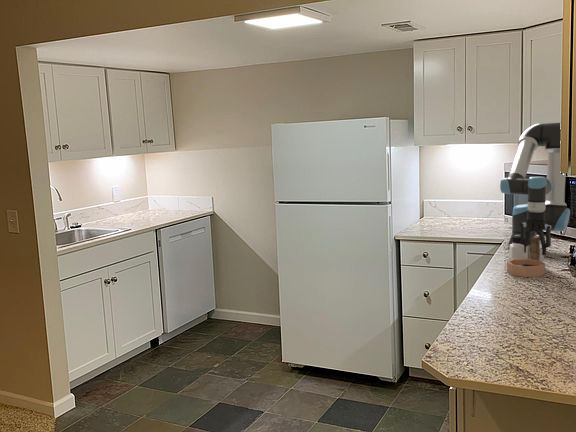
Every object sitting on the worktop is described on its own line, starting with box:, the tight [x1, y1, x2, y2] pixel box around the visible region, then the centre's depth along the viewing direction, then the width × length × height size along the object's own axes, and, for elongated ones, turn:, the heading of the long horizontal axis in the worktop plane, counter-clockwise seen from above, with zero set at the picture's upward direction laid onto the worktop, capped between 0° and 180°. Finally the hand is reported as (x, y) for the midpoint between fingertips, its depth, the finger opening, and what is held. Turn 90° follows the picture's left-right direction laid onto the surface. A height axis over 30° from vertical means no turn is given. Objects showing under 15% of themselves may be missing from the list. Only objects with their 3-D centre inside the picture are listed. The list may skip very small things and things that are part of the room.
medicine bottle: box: [508, 235, 526, 261], centre depth 284 cm, size 7×7×12 cm
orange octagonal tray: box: [506, 259, 546, 278], centre depth 262 cm, size 15×15×4 cm
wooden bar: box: [530, 235, 541, 260], centre depth 270 cm, size 4×2×14 cm, turn 136°
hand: (534, 260), depth 271 cm, fingers open, 6 cm apart
